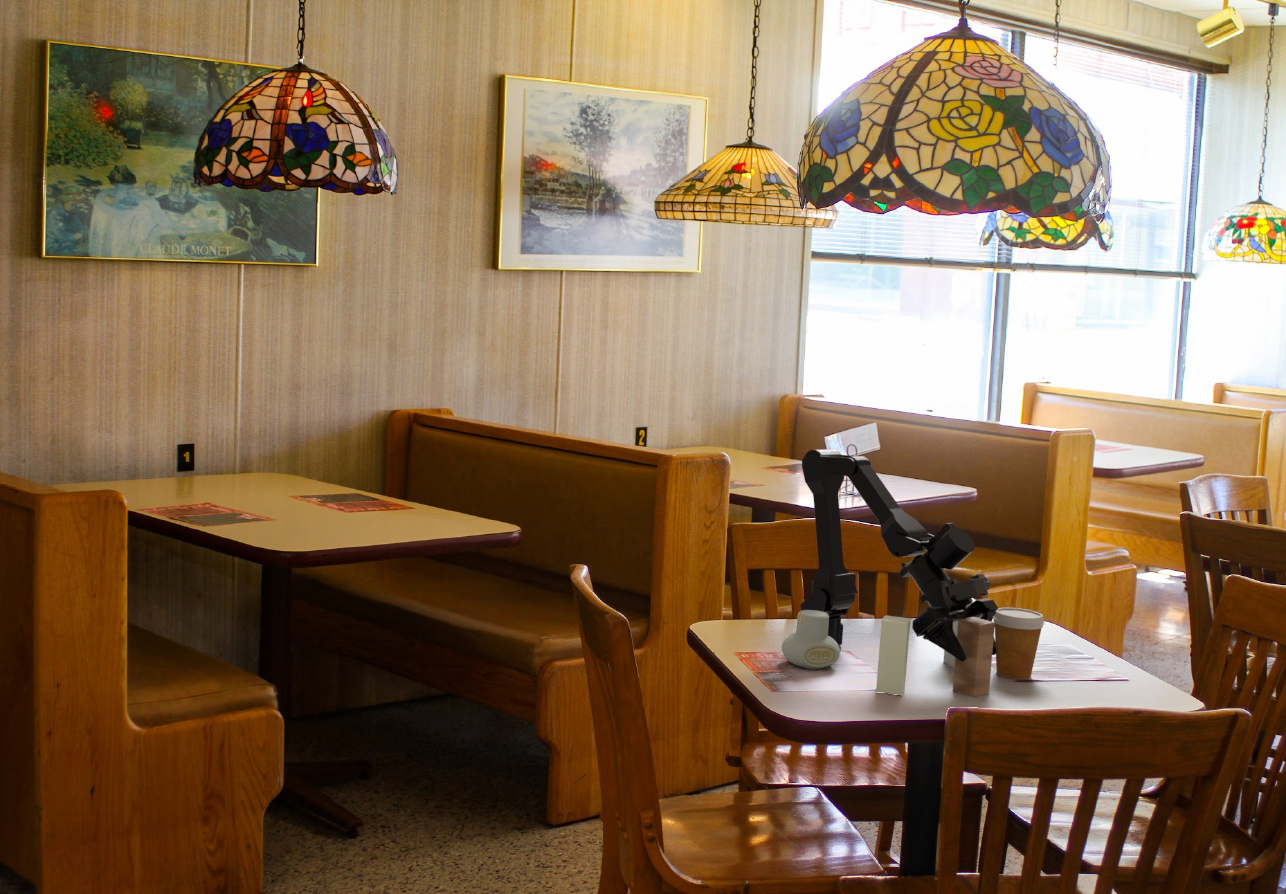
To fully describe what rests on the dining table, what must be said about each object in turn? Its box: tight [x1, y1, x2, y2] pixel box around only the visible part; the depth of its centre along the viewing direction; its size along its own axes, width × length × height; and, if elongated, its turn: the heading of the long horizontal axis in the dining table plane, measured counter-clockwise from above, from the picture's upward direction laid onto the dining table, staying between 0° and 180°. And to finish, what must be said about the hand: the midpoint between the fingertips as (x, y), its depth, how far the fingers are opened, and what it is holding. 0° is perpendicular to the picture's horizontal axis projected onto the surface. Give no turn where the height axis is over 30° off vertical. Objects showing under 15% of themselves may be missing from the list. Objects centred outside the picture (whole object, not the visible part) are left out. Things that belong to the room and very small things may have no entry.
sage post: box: [875, 615, 911, 697], centre depth 224 cm, size 4×4×13 cm
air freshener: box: [781, 610, 841, 670], centre depth 238 cm, size 11×8×10 cm
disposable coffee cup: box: [992, 607, 1046, 680], centre depth 240 cm, size 10×10×12 cm
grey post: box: [942, 598, 977, 670], centre depth 244 cm, size 4×4×13 cm
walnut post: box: [952, 617, 995, 698], centre depth 226 cm, size 4×4×13 cm
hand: (980, 657), depth 225 cm, fingers open, 9 cm apart
